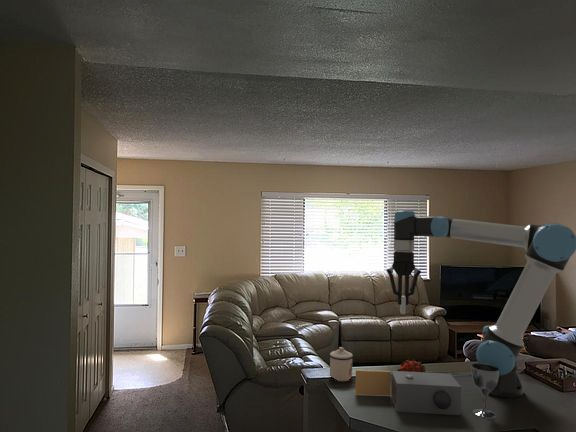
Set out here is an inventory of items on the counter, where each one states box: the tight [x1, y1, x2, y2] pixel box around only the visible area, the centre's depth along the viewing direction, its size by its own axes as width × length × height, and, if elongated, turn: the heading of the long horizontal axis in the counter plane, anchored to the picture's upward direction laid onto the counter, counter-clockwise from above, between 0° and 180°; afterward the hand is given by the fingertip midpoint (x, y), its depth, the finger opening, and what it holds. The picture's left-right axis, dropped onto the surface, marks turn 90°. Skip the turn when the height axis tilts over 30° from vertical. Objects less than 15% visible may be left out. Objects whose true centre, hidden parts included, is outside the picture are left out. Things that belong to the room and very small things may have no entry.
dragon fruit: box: [396, 359, 427, 373], centre depth 168 cm, size 8×8×12 cm
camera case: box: [390, 370, 462, 416], centre depth 144 cm, size 20×14×10 cm
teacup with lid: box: [329, 346, 354, 382], centre depth 171 cm, size 12×9×12 cm
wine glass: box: [471, 362, 499, 420], centre depth 140 cm, size 8×8×15 cm
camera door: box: [354, 369, 392, 396], centre depth 153 cm, size 12×1×8 cm, turn 87°
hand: (402, 313), depth 166 cm, fingers closed
